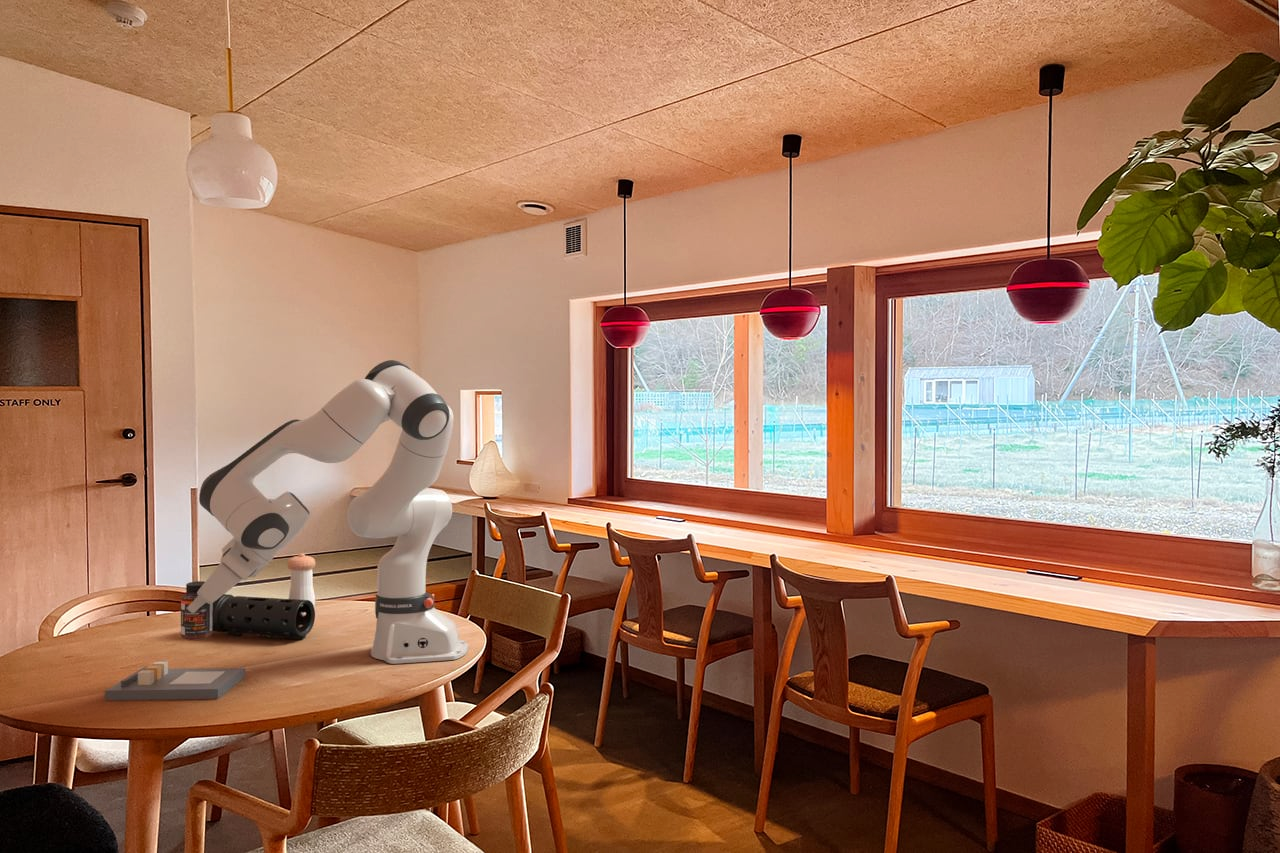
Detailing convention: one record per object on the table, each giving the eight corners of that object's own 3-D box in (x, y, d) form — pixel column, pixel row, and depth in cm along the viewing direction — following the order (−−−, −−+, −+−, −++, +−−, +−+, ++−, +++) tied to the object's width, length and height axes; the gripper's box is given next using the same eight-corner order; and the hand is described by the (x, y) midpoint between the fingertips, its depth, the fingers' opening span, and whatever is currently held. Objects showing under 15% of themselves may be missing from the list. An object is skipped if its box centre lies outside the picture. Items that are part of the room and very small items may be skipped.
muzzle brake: (294, 645, 216) (294, 603, 216) (194, 638, 222) (193, 597, 222) (316, 635, 226) (315, 595, 225) (219, 629, 231) (219, 589, 231)
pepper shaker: (314, 627, 233) (314, 555, 232) (285, 629, 231) (284, 556, 230) (318, 620, 240) (317, 550, 239) (289, 622, 238) (289, 551, 237)
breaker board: (245, 676, 191) (244, 656, 191) (217, 698, 178) (217, 676, 177) (140, 678, 190) (140, 657, 190) (105, 700, 176) (104, 678, 176)
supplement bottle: (180, 642, 180) (180, 587, 179) (181, 635, 185) (180, 581, 185) (213, 638, 182) (212, 584, 182) (212, 631, 188) (211, 578, 187)
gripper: (239, 539, 195) (191, 585, 193) (225, 555, 176) (171, 607, 173) (261, 558, 197) (214, 604, 194) (249, 576, 177) (196, 628, 174)
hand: (193, 606), depth 183 cm, fingers closed on supplement bottle, 6 cm apart
